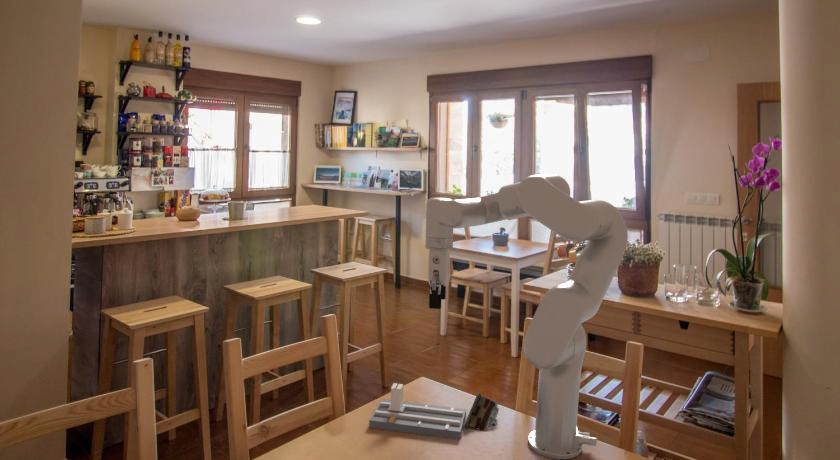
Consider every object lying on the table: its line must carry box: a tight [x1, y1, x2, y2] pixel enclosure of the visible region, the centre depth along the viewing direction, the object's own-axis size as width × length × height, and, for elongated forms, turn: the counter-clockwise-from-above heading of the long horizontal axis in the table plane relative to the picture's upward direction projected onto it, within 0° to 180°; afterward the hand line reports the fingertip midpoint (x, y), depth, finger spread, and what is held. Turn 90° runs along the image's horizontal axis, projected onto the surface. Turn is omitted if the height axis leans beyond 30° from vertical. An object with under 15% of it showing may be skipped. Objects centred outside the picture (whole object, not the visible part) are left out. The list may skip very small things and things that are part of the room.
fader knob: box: [388, 382, 405, 413], centre depth 139 cm, size 4×3×7 cm
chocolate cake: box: [463, 388, 500, 432], centre depth 141 cm, size 10×7×12 cm
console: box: [368, 398, 467, 441], centre depth 139 cm, size 23×12×3 cm, turn 79°
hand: (437, 303), depth 150 cm, fingers open, 9 cm apart
